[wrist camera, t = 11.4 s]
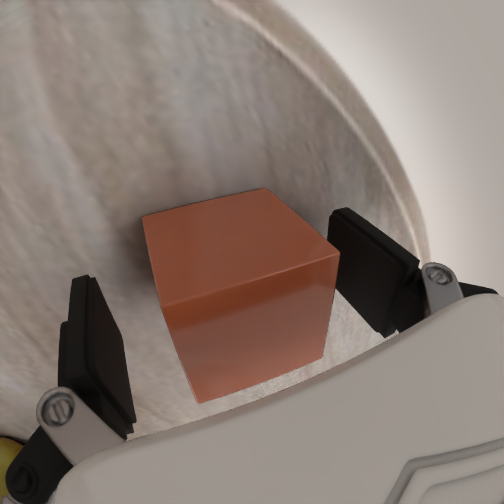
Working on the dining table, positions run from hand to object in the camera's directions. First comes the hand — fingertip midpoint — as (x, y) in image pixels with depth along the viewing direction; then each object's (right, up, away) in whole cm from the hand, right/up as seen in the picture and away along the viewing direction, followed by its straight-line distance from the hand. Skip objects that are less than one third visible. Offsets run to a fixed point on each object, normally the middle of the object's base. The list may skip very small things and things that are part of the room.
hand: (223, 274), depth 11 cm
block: (0, +1, +1) cm, 1 cm away
